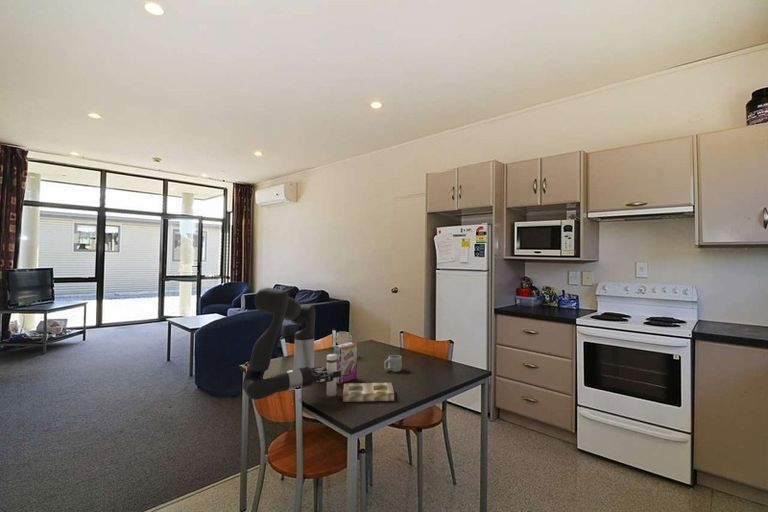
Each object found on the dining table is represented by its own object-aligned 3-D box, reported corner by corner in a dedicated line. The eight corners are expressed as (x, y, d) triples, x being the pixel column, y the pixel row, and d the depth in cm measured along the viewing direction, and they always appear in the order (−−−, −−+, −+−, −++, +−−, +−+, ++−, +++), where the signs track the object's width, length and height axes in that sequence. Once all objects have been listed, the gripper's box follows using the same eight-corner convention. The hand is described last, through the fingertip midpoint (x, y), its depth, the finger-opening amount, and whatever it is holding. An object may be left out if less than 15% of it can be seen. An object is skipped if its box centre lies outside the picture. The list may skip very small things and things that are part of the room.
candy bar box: (340, 384, 161) (340, 347, 161) (332, 382, 164) (332, 345, 164) (357, 378, 169) (357, 343, 169) (349, 376, 172) (350, 341, 173)
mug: (396, 366, 188) (396, 354, 188) (404, 370, 182) (404, 356, 182) (380, 370, 182) (380, 357, 182) (388, 373, 176) (388, 360, 177)
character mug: (350, 353, 214) (350, 331, 214) (353, 356, 208) (353, 333, 208) (332, 354, 211) (332, 332, 211) (334, 357, 204) (334, 334, 204)
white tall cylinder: (326, 396, 147) (326, 356, 147) (326, 392, 151) (327, 354, 151) (336, 396, 147) (336, 356, 147) (336, 392, 151) (337, 354, 152)
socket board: (342, 401, 142) (342, 393, 142) (344, 390, 154) (344, 382, 154) (394, 400, 143) (394, 392, 143) (391, 389, 155) (391, 381, 155)
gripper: (305, 373, 135) (345, 366, 145) (291, 364, 147) (329, 358, 157) (305, 394, 135) (345, 385, 145) (291, 383, 147) (329, 375, 157)
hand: (336, 371), depth 151 cm, fingers open, 6 cm apart
